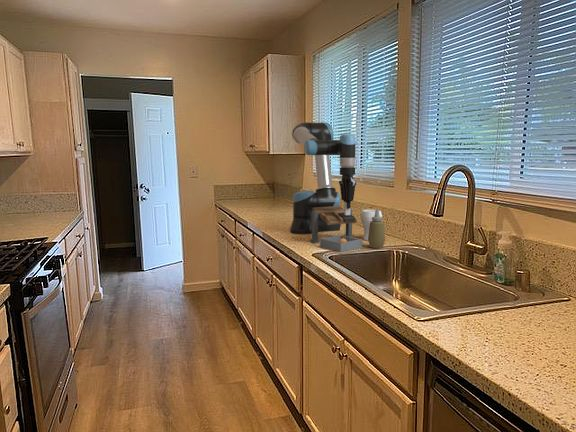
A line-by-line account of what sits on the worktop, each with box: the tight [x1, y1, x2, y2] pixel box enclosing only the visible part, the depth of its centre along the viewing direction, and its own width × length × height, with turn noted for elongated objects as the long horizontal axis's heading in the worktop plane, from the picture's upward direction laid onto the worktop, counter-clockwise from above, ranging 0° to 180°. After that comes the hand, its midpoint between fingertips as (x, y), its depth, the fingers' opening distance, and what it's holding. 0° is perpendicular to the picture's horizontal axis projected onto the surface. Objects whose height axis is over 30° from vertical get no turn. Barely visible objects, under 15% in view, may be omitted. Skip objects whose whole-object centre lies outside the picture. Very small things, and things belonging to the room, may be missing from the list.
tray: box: [319, 234, 363, 253], centre depth 198 cm, size 14×14×4 cm
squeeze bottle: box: [368, 208, 386, 249], centre depth 197 cm, size 8×8×18 cm
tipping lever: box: [310, 205, 358, 233], centre depth 213 cm, size 18×16×14 cm
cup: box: [360, 209, 383, 242], centre depth 215 cm, size 11×11×15 cm
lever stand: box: [309, 208, 356, 244], centre depth 214 cm, size 5×24×16 cm, turn 112°
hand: (347, 214), depth 207 cm, fingers closed
